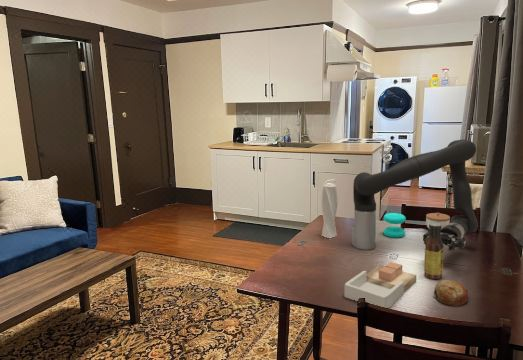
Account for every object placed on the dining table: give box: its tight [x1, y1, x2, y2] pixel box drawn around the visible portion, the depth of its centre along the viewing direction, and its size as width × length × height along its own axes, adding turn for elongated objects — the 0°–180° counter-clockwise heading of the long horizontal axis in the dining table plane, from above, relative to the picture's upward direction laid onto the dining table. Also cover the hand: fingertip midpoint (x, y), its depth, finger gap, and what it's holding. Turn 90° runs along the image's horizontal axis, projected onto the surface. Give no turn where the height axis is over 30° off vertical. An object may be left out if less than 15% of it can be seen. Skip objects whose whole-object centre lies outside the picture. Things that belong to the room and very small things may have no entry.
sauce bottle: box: [423, 223, 445, 280], centre depth 141 cm, size 7×6×20 cm
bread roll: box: [433, 279, 469, 307], centre depth 126 cm, size 10×10×8 cm
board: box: [367, 264, 417, 294], centre depth 139 cm, size 14×12×2 cm
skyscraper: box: [321, 178, 338, 238], centre depth 185 cm, size 8×8×28 cm
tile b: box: [379, 265, 397, 282], centre depth 137 cm, size 4×4×3 cm
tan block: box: [384, 261, 403, 277], centre depth 140 cm, size 4×4×3 cm
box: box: [343, 270, 404, 309], centre depth 130 cm, size 15×14×4 cm
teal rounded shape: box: [382, 212, 407, 239], centre depth 186 cm, size 10×10×10 cm
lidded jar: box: [425, 212, 451, 229], centre depth 190 cm, size 11×11×9 cm
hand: (437, 245), depth 143 cm, fingers open, 8 cm apart
